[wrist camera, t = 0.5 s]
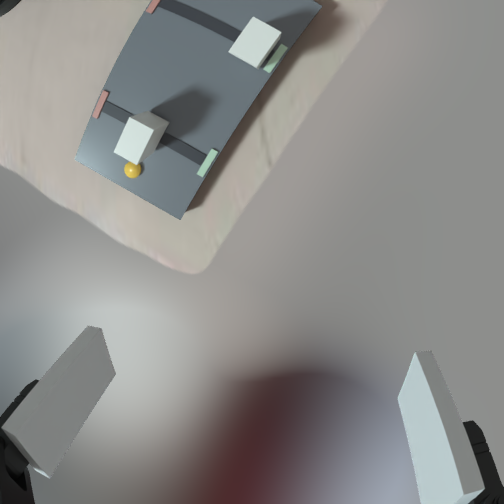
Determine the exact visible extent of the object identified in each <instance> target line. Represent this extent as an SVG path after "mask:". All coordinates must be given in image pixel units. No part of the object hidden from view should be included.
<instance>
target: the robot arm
mask: <svg viewBox="0 0 504 504" xmlns="http://www.w3.org/2000/svg"><path fill="white" fill-rule="evenodd" d="M19 1H20V0H0V16H2V15H4V14H5V13H7V12H8V11H9V10H11V9H12V8H13V7H14V6H15V5H16V4H17V3H18V2H19ZM115 374H116V373H115V370H114V367H113V364H112V361H111V358H110V355H109V352H108V349H107V346H106V342H105V339H104V335H103V332H102V329H101V328H97V327H92V326H88V327H87V328H86V329H85V330H84V331H83V332H82V333H81V334H80V335H79V336H78V337H77V338H76V340H75V341H74V342H73V343H72V344H71V345H70V346H69V347H68V348H67V350H66V351H65V352H64V353H63V354H62V355H61V356H60V358H59V359H58V360H57V361H56V362H55V363H54V364H53V366H52V367H51V368H50V369H49V370H48V371H47V372H46V374H45V375H44V376H43V377H42V378H41V379H40V381H39V380H34V381H33V382H31V383H30V384H28V385H27V386H26V387H25V388H24V389H23V390H22V391H21V392H20V395H19V396H17V397H16V398H15V400H14V402H12V403H11V405H10V406H9V407H8V408H7V409H6V410H5V412H4V413H3V414H2V415H1V417H0V504H35V502H34V497H33V492H32V486H31V480H30V474H29V471H28V468H27V465H28V464H29V463H30V465H31V466H32V467H33V468H34V469H35V470H36V471H38V472H39V473H41V474H43V475H45V476H46V477H48V478H51V476H52V474H53V473H54V471H55V469H56V468H57V466H58V464H59V463H60V461H61V459H62V458H63V456H64V455H65V453H66V451H67V450H68V448H69V446H70V445H71V443H72V442H73V440H74V438H75V437H76V435H77V434H78V432H79V430H80V429H81V427H82V426H83V424H84V422H85V421H86V419H87V418H88V416H89V414H90V413H91V412H92V410H93V408H94V407H95V405H96V404H97V402H98V401H99V399H100V398H101V396H102V394H103V393H104V391H105V390H106V388H107V387H108V385H109V384H110V382H111V381H112V379H113V378H114V376H115ZM398 402H399V406H400V410H401V414H402V417H403V422H404V426H405V429H406V434H407V438H408V443H409V446H410V451H411V456H412V461H413V465H414V470H415V475H416V480H417V486H418V491H419V497H420V502H421V504H504V487H503V485H502V483H501V481H500V478H499V475H498V472H497V469H496V466H495V463H494V460H493V458H492V455H491V453H490V452H489V447H488V444H487V443H486V439H485V437H484V435H483V432H482V430H481V429H480V428H479V426H478V425H477V424H476V423H475V422H474V421H468V422H462V420H461V418H460V415H459V413H458V410H457V408H456V405H455V403H454V400H453V398H452V396H451V393H450V391H449V388H448V386H447V384H446V382H445V379H444V377H443V375H442V373H441V370H440V368H439V366H438V364H437V362H436V360H435V358H434V355H433V353H432V351H416V352H415V353H414V356H413V359H412V362H411V364H410V367H409V370H408V373H407V375H406V378H405V381H404V383H403V386H402V388H401V391H400V393H399V396H398Z"/></svg>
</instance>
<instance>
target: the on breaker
mask: <svg viewBox="0 0 504 504" xmlns="http://www.w3.org/2000/svg"><path fill="white" fill-rule="evenodd" d="M280 36H281V32H280V31H278V30H276V29H275V28H273V27H271V26H269V25H268V24H266V23H264V22H262V21H260V20H259V19H257V18H255V17H252V19H251V20H250V21H249V23H248V24H247V26H246V27H245V28H244V30H243V31H242V33H241V34H240V35H239V37H238V38H237V40H236V41H235V43H234V44H233V45H232V47H231V48H230V50H229V51H228V52H229V53H231V54H232V55H234V56H235V57H237V58H239V59H241V60H243V61H244V62H246V63H248V64H250V65H251V66H253V67H255V68H257V69H259V68H260V66H261V65H262V63H263V62H264V60H265V59H266V58H267V56H268V55H269V53H270V52H271V51H272V49H273V48H274V46H275V45H276V44H277V42H278V41H279V40H280Z"/></svg>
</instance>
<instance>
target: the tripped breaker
mask: <svg viewBox="0 0 504 504" xmlns="http://www.w3.org/2000/svg"><path fill="white" fill-rule="evenodd" d="M168 124H169V122H168V121H166V120H164V119H162V118H161V117H159V116H157V115H155V114H153V113H151V112H149V111H146V112H143V113H140V114H137V115H134V116H131V117H129V119H128V121H127V123H126V126H125V128H124V130H123V132H122V134H121V137H120V139H119V141H118V143H117V146H116V148H115V150H114V153H116V154H118V155H120V156H121V157H123V158H125V159H127V160H128V161H130V162H132V163H134V164H136V165H138V164H139V163H140V162H142V161H143V160H144V159H146V158H147V157H148V156H150V155H151V154H153V153H154V151H155V149H156V147H157V145H158V143H159V141H160V139H161V137H162V135H163V134H164V132H165V130H166V128H167V126H168Z"/></svg>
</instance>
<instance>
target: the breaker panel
mask: <svg viewBox="0 0 504 504" xmlns="http://www.w3.org/2000/svg"><path fill="white" fill-rule="evenodd" d="M321 7H322V6H321V5H320V4H318V3H316V2H315V1H313V0H151V2H150V3H149V5H148V6H147V8H146V10H145V11H144V13H143V14H142V16H141V18H140V19H139V21H138V23H137V24H136V26H135V28H134V29H133V31H132V33H131V35H130V36H129V38H128V40H127V42H126V44H125V45H124V47H123V49H122V51H121V53H120V55H119V57H118V59H117V61H116V63H115V65H114V67H113V69H112V71H111V73H110V75H109V77H108V79H107V81H106V83H105V85H104V87H103V90H102V92H101V94H100V96H99V98H98V101H97V103H96V105H95V108H94V110H93V112H92V115H91V117H90V120H89V122H88V125H87V127H86V130H85V132H84V135H83V138H82V140H81V143H80V146H79V149H78V151H77V154H76V157H75V160H76V161H78V162H80V163H81V164H83V165H85V166H87V167H88V168H90V169H92V170H94V171H95V172H97V173H99V174H100V175H102V176H104V177H106V178H107V179H109V180H111V181H113V182H114V183H116V184H118V185H120V186H121V187H123V188H125V189H127V190H128V191H130V192H132V193H134V194H135V195H137V196H139V197H141V198H142V199H144V200H146V201H148V202H149V203H151V204H153V205H155V206H156V207H158V208H160V209H162V210H163V211H165V212H167V213H169V214H170V215H172V216H174V217H176V218H178V219H179V220H181V218H182V216H183V215H184V213H185V211H186V209H187V208H188V206H189V204H190V202H191V201H192V199H193V197H194V196H195V194H196V192H197V190H198V189H199V187H200V185H201V184H202V182H203V180H204V179H205V177H206V175H207V174H208V172H209V170H210V169H211V167H212V165H213V164H214V162H215V160H216V159H217V157H218V155H219V154H220V152H221V151H222V149H223V147H224V146H225V144H226V143H227V141H228V140H229V138H230V136H231V135H232V133H233V132H234V130H235V129H236V127H237V125H238V124H239V122H240V121H241V119H242V118H243V116H244V115H245V113H246V112H247V110H248V109H249V107H250V106H251V104H252V103H253V101H254V100H255V98H256V97H257V95H258V94H259V92H260V91H261V89H262V88H263V86H264V85H265V83H266V82H267V81H268V79H269V78H270V76H271V75H272V73H273V72H274V71H275V69H276V68H277V66H278V65H279V64H280V62H281V61H282V59H283V58H284V57H285V55H286V54H287V52H288V51H289V50H290V48H291V47H292V46H293V44H294V43H295V42H296V40H297V39H298V37H299V36H300V35H301V33H302V32H303V31H304V30H305V28H306V27H307V26H308V24H309V23H310V22H311V20H312V19H313V18H314V17H315V15H316V14H317V13H318V11H319V10H320V9H321ZM252 17H255V18H257V19H259V20H260V21H262V22H264V23H266V24H268V25H269V26H271V27H273V28H275V29H276V30H278V31H280V32H281V36H280V40H279V41H278V42H277V44H276V45H275V46H274V48H273V49H272V51H271V52H270V53H269V55H268V56H267V58H266V59H265V60H264V62H263V63H262V65H261V66H260V68H259V69H257V68H255V67H253V66H251V65H250V64H248V63H246V62H244V61H243V60H241V59H239V58H237V57H235V56H234V55H232V54H231V53H229V52H228V51H229V50H230V48H231V47H232V45H233V44H234V43H235V41H236V40H237V38H238V37H239V35H240V34H241V33H242V31H243V30H244V28H245V27H246V26H247V24H248V23H249V21H250V20H251V19H252ZM146 111H149V112H151V113H153V114H155V115H157V116H159V117H161V118H162V119H164V120H166V121H168V122H169V124H168V126H167V128H166V130H165V132H164V134H163V135H162V137H161V139H160V141H159V143H158V145H157V147H156V149H155V151H154V153H153V154H151V155H150V156H148V157H147V158H146V159H144V160H143V161H142V162H140V163H139V164H138V165H136V164H134V163H132V162H130V161H128V160H127V159H125V158H123V157H121V156H120V155H118V154H116V153H114V150H115V148H116V146H117V143H118V141H119V139H120V137H121V134H122V132H123V130H124V128H125V126H126V123H127V121H128V119H129V117H131V116H134V115H137V114H140V113H143V112H146Z"/></svg>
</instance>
